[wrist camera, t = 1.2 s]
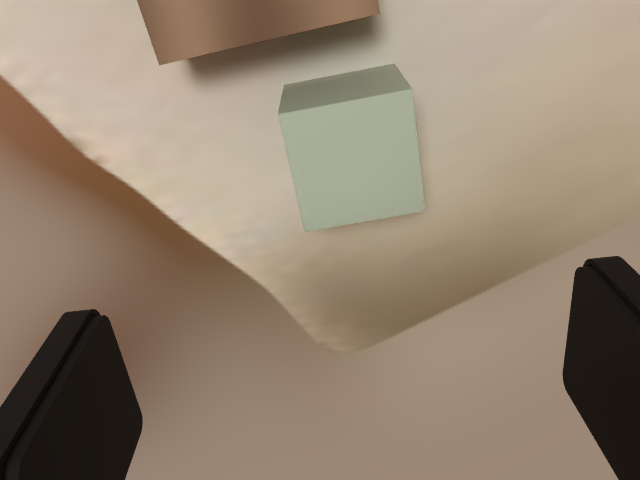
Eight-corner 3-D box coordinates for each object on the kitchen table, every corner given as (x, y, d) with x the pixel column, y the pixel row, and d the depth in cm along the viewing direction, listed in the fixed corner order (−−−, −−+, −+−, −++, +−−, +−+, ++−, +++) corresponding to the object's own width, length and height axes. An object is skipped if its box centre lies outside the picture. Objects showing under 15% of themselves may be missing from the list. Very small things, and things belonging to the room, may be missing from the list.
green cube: (394, 63, 30) (412, 88, 24) (406, 167, 32) (425, 211, 27) (283, 84, 30) (278, 114, 25) (305, 185, 33) (304, 232, 28)
